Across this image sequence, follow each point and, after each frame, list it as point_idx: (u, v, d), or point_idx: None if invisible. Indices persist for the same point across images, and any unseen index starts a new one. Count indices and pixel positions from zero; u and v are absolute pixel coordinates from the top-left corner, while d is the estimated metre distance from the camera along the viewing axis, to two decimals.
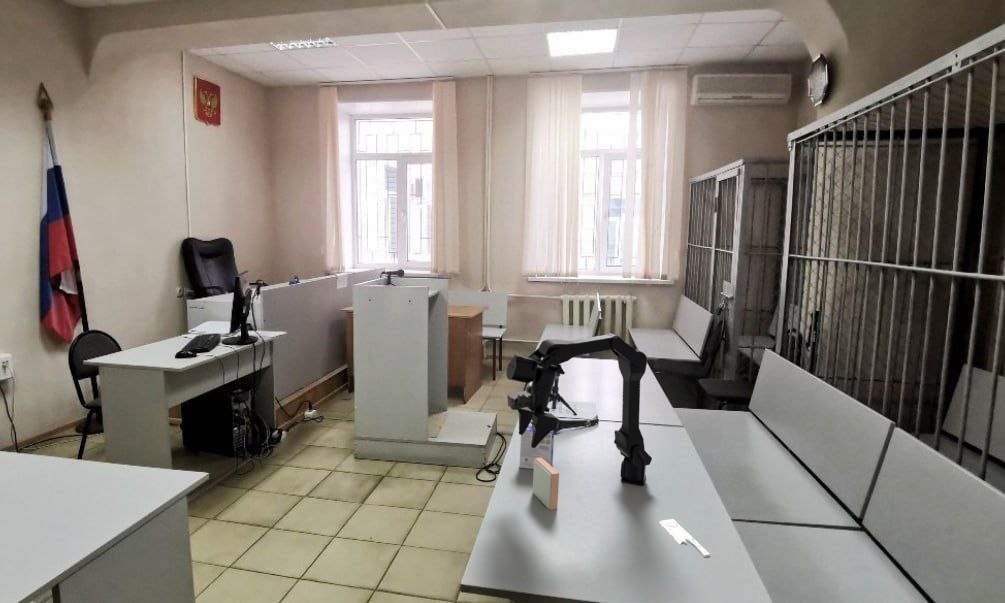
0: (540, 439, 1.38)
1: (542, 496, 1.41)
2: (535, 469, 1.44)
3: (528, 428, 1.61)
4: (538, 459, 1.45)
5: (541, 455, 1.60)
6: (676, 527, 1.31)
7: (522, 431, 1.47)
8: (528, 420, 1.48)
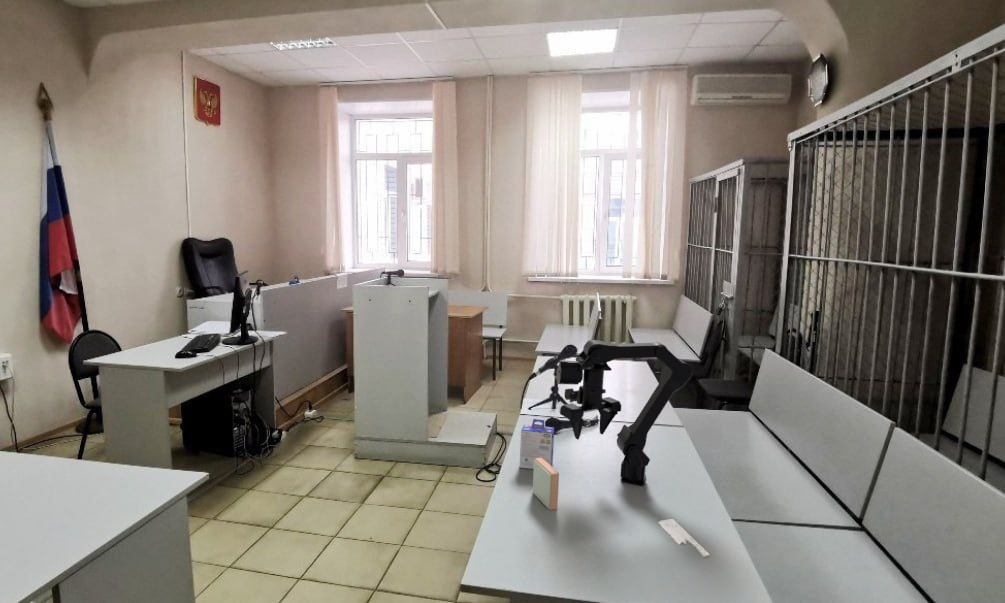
0: (577, 431, 1.49)
1: (542, 496, 1.41)
2: (535, 469, 1.44)
3: (528, 428, 1.61)
4: (538, 459, 1.45)
5: (541, 455, 1.60)
6: (675, 527, 1.31)
7: (601, 430, 1.55)
8: (605, 421, 1.54)
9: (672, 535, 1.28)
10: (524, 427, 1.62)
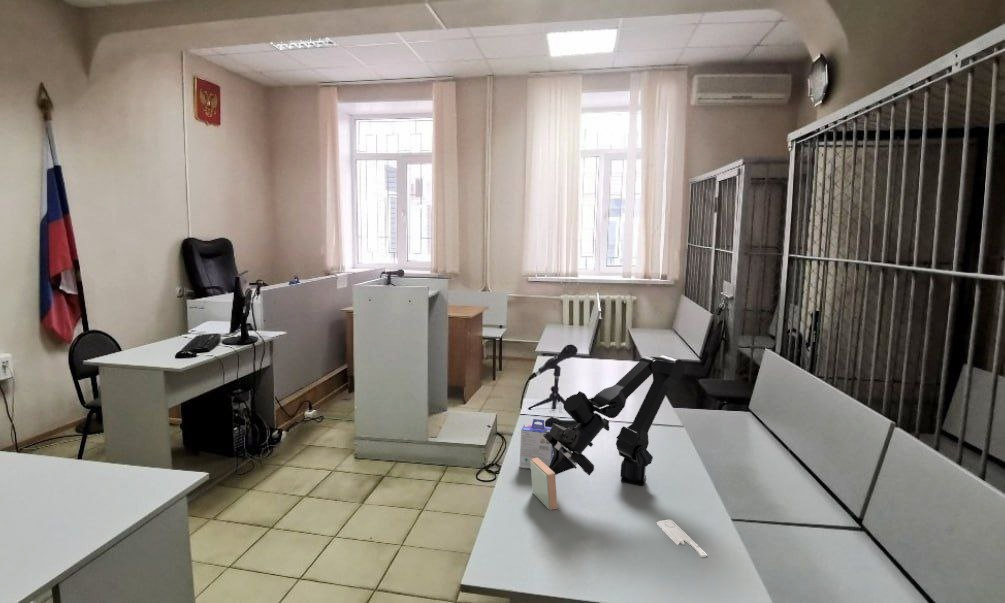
0: (558, 471, 1.42)
1: (541, 497, 1.41)
2: (532, 470, 1.44)
3: (528, 428, 1.61)
4: (534, 460, 1.44)
5: (541, 455, 1.60)
6: (674, 527, 1.30)
7: None
8: None
9: (670, 535, 1.27)
10: (524, 427, 1.62)
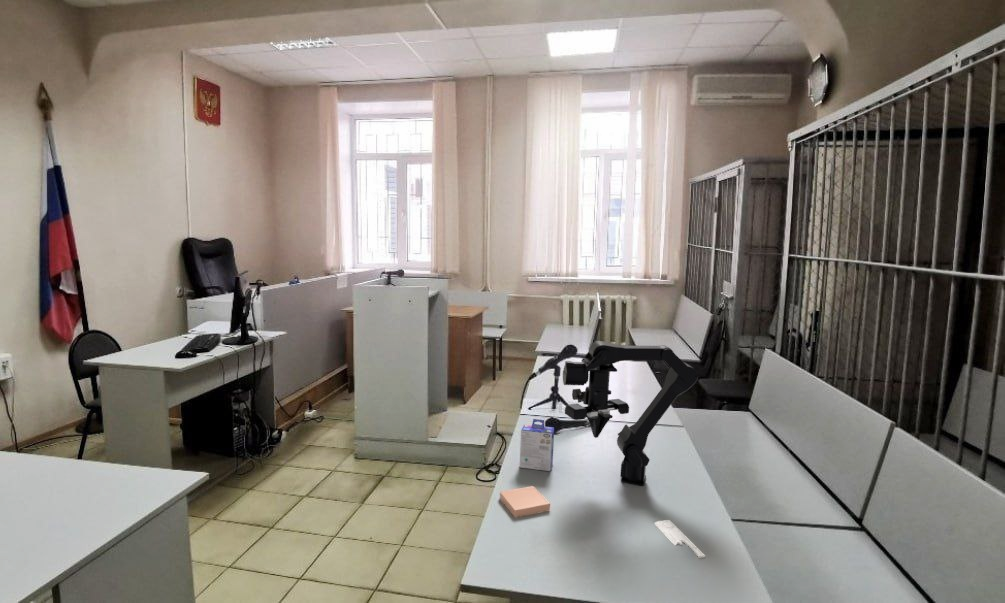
0: (594, 429, 1.52)
1: None
2: None
3: (528, 428, 1.61)
4: (501, 498, 1.42)
5: (541, 455, 1.60)
6: (672, 528, 1.30)
7: None
8: None
9: (668, 536, 1.27)
10: (524, 427, 1.62)
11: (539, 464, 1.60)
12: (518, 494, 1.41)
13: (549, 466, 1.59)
